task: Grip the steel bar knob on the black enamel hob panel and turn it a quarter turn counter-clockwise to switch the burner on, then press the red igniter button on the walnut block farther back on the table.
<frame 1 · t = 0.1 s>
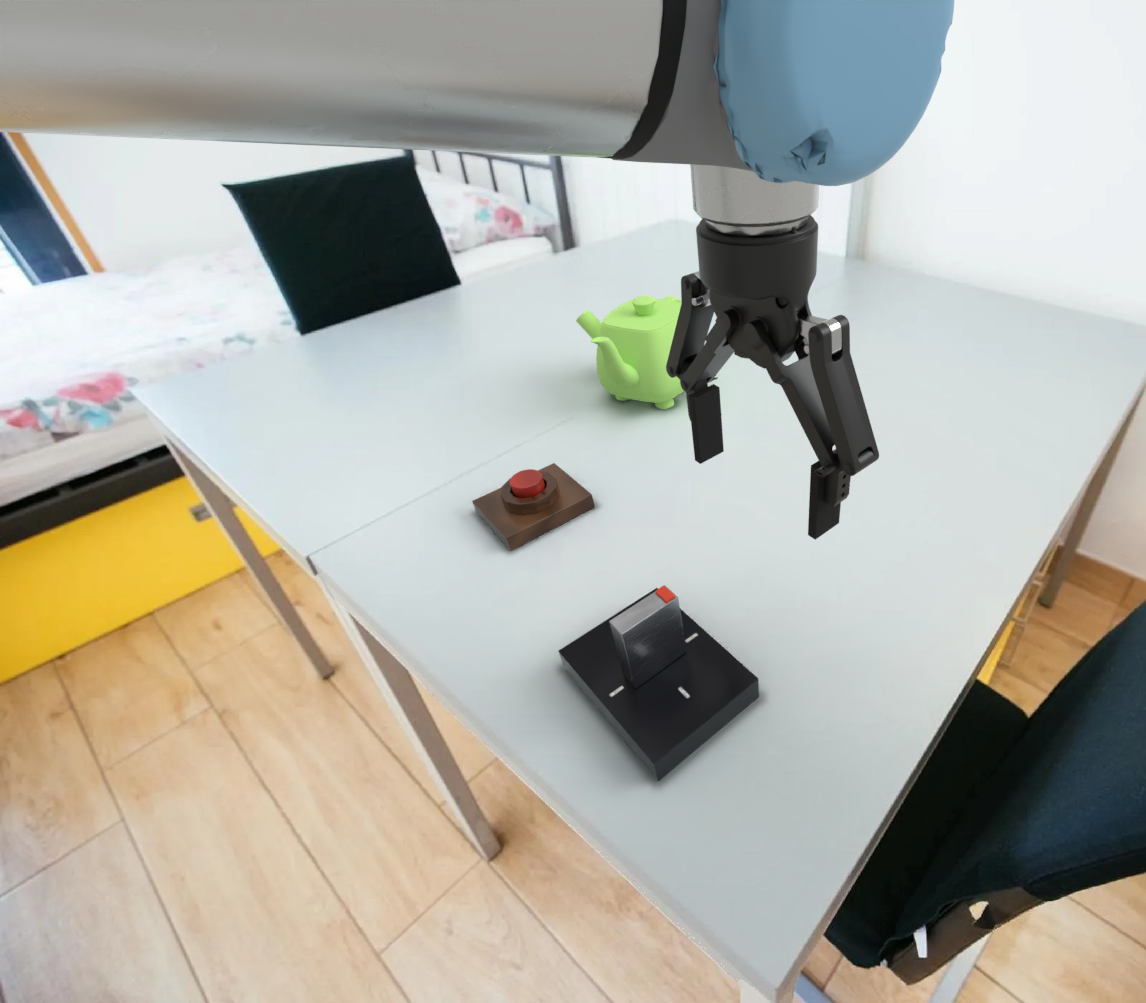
hand: (762, 490, 51), 21 cm above the table, tool pointing down, fingers open, 13 cm apart
burner knob: (650, 636, 57), point 7 cm above the table, hinge at 0.0°
teapot: (637, 391, 106), on the table
igniter: (536, 510, 82), on the table
igniter button: (527, 483, 79), point 4 cm above the table, slide at 0.1 cm
hob panel: (659, 682, 61), on the table
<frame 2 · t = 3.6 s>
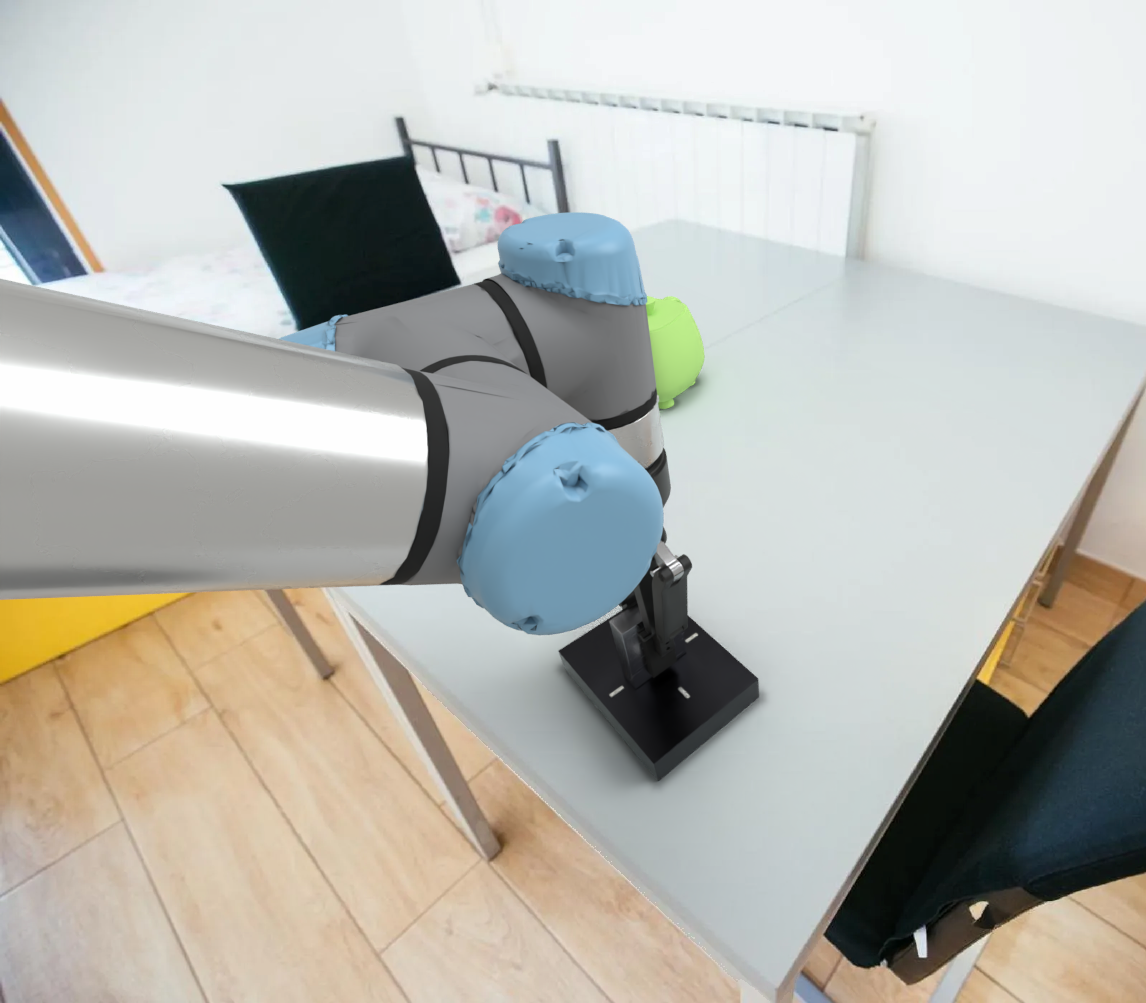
hand: (654, 658, 59), 4 cm above the table, tool pointing down, fingers closed on burner knob, 2 cm apart
burner knob: (650, 636, 57), point 7 cm above the table, hinge at -0.1°, touching gripper
everything else where it was.
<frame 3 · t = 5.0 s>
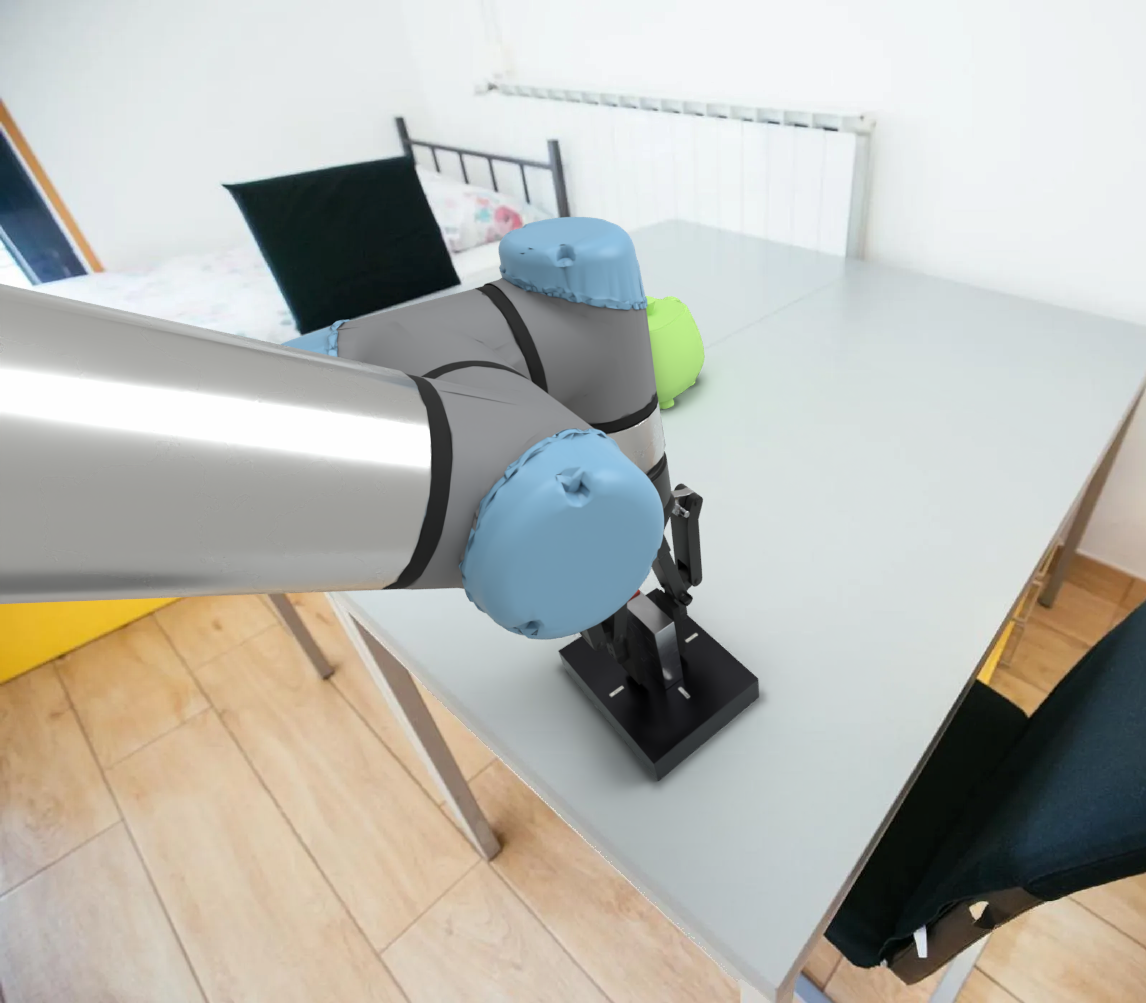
hand: (654, 658, 59), 4 cm above the table, tool pointing down, fingers open, 4 cm apart
burner knob: (650, 636, 57), point 7 cm above the table, hinge at 90.0°
everything else where it was.
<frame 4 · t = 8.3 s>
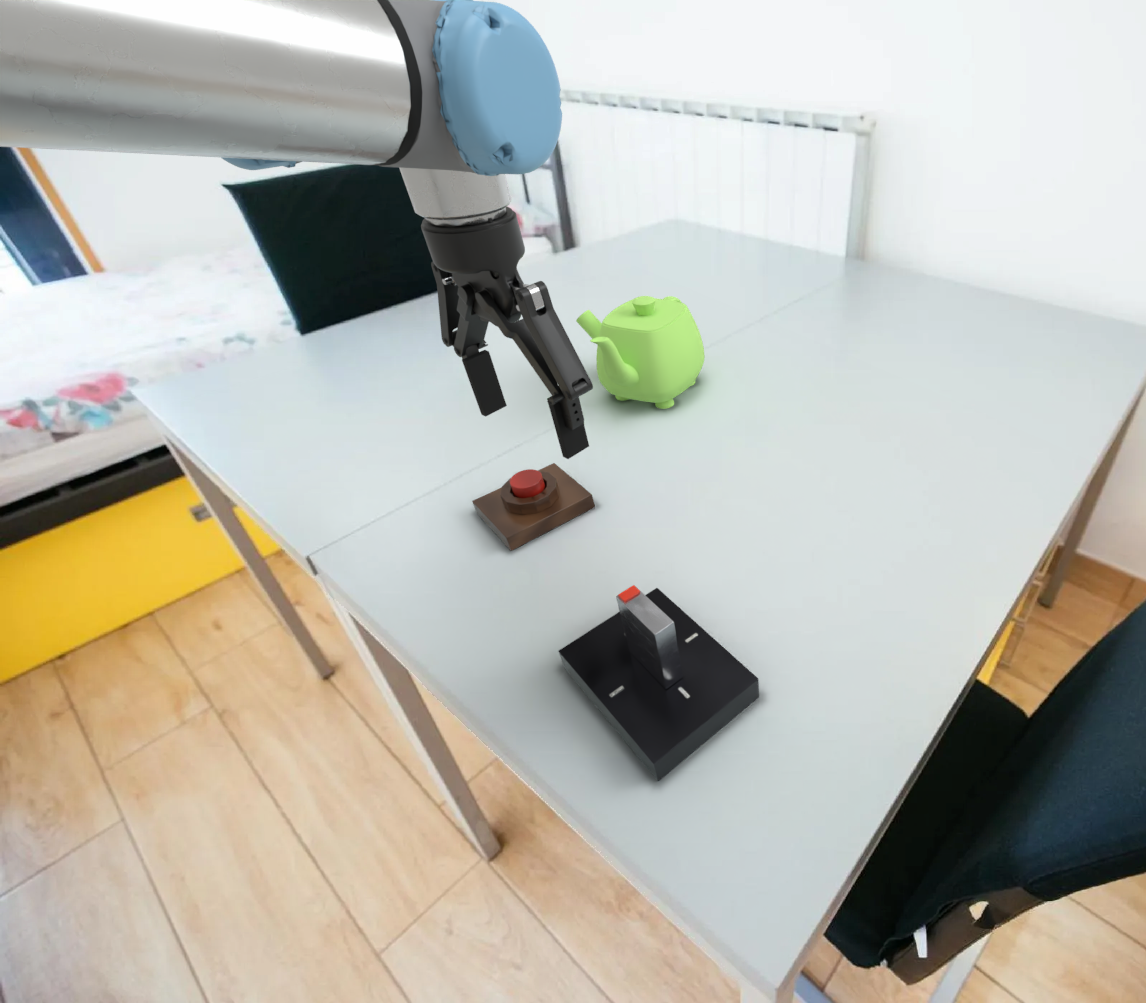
hand: (533, 430, 64), 18 cm above the table, tool pointing down, fingers open, 13 cm apart
nothing on the table moved.
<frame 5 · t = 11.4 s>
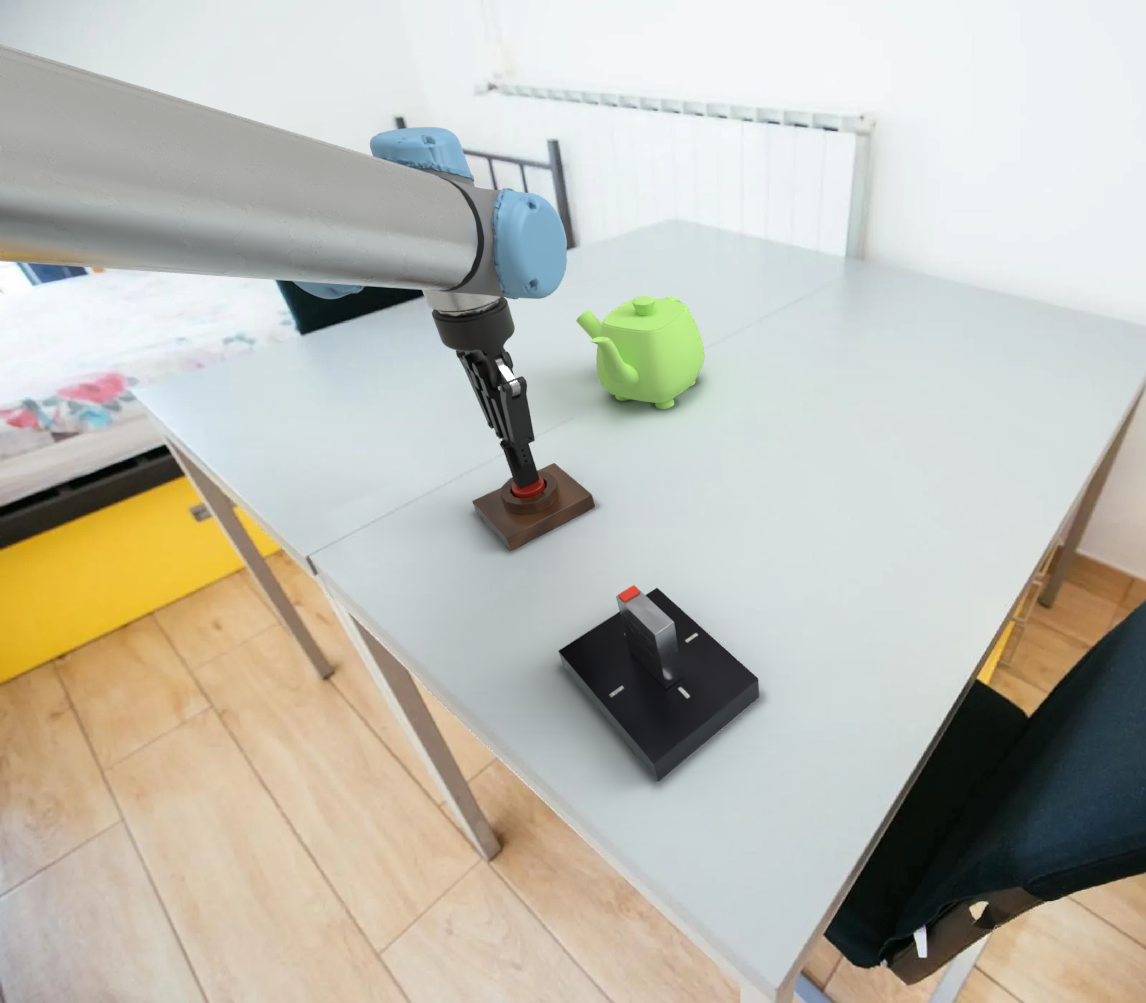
hand: (527, 481, 79), 5 cm above the table, tool pointing down, fingers closed
igniter button: (529, 488, 80), point 4 cm above the table, slide at -0.7 cm, touching gripper
everything else where it was.
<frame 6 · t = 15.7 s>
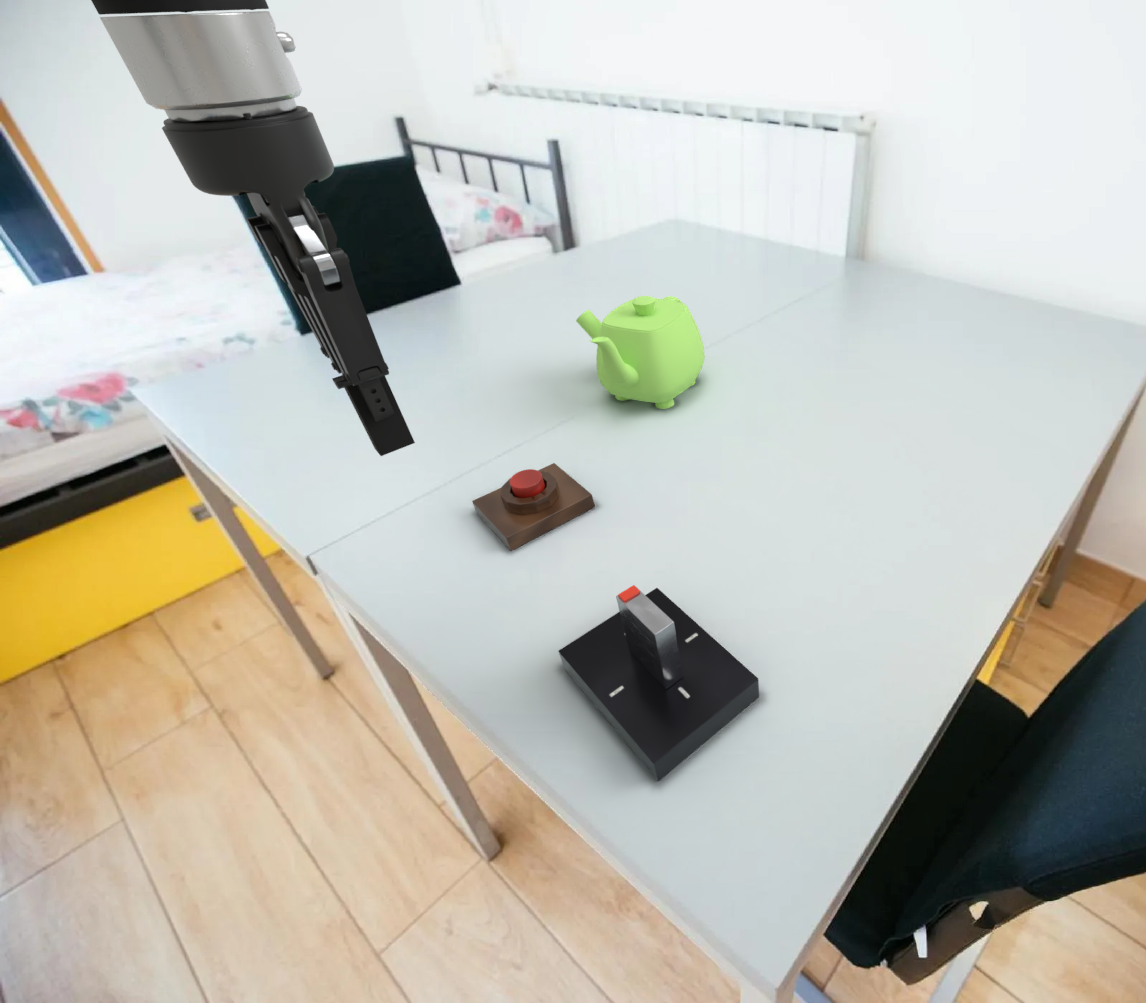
hand: (394, 445, 51), 24 cm above the table, tool pointing down, fingers closed
igniter button: (527, 483, 79), point 4 cm above the table, slide at 0.1 cm
everything else where it was.
at the end: burner knob at +90° (first picture: +0°); igniter button pushed in 1.0 cm at the most during the clip, back to where it started at the end; igniter button slide at 0.1 cm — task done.
